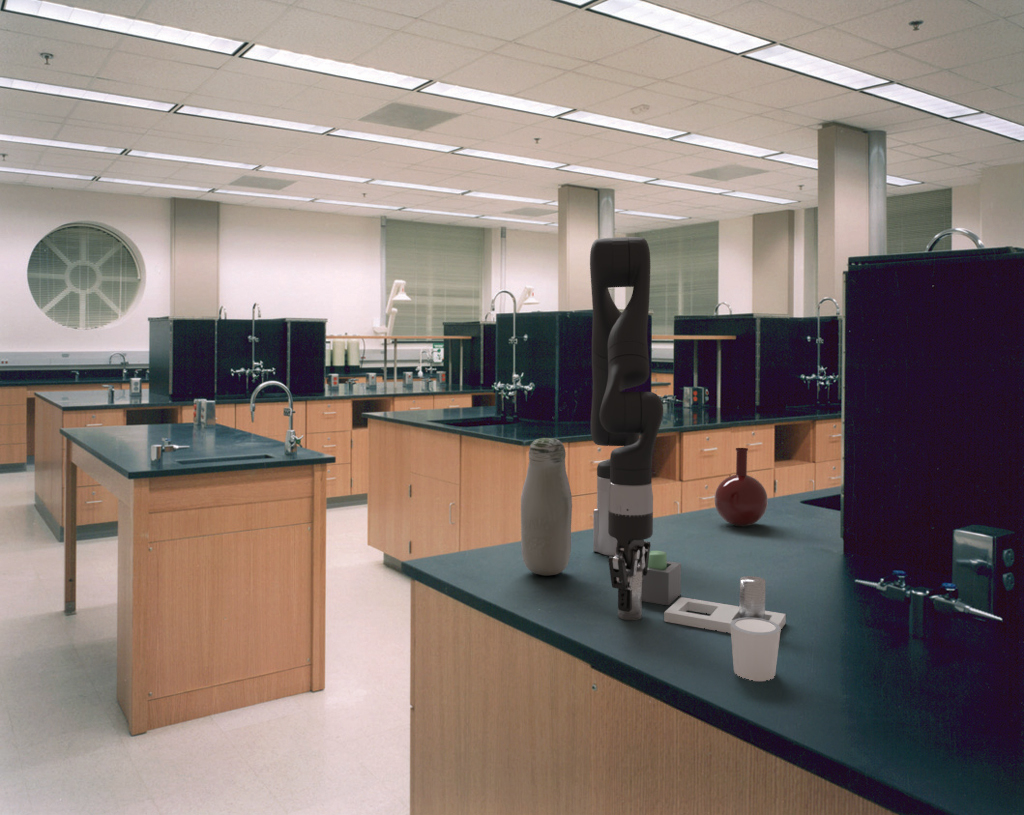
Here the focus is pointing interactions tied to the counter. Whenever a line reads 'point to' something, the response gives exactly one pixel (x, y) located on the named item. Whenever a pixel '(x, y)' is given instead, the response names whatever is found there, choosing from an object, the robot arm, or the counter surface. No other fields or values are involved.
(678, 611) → the grey flat frame
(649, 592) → the grey square holder
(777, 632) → the white cup
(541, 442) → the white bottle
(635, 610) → the cylinder
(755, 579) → the seated billet
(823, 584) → the counter surface
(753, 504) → the round-bottom flask
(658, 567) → the button
